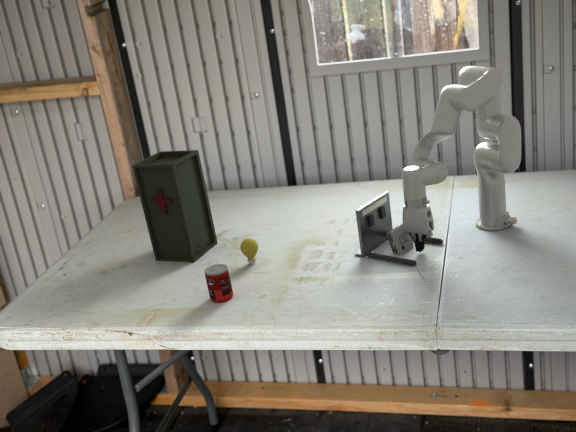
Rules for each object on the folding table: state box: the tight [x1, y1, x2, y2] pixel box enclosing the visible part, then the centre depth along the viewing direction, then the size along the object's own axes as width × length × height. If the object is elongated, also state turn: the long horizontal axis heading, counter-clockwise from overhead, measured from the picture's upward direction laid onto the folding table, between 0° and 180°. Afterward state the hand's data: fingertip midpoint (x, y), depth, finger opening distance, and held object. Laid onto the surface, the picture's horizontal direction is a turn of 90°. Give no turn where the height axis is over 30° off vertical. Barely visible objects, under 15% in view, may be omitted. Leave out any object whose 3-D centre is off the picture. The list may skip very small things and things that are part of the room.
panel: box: [354, 190, 394, 258], centre depth 242 cm, size 5×20×18 cm, turn 139°
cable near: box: [365, 252, 417, 267], centre depth 230 cm, size 20×2×2 cm, turn 49°
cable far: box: [411, 236, 444, 245], centre depth 243 cm, size 20×2×2 cm, turn 49°
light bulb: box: [239, 237, 259, 266], centre depth 245 cm, size 7×7×10 cm
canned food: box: [203, 263, 234, 304], centre depth 222 cm, size 8×8×11 cm
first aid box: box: [131, 149, 218, 263], centre depth 261 cm, size 18×18×40 cm
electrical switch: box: [386, 222, 415, 256], centre depth 237 cm, size 9×5×9 cm, turn 138°
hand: (420, 250), depth 232 cm, fingers closed
